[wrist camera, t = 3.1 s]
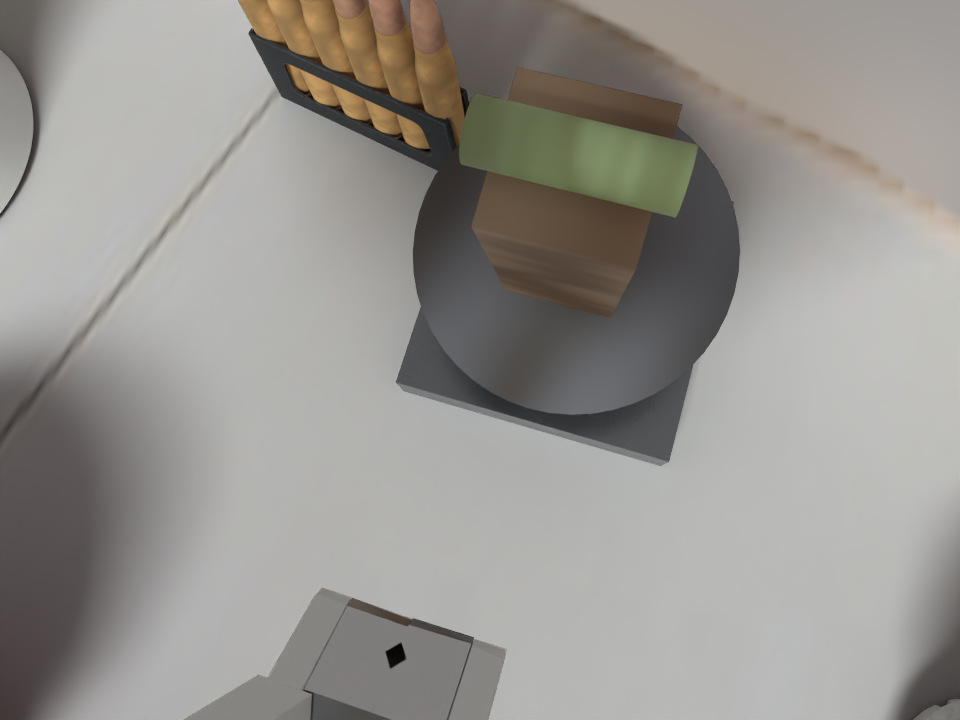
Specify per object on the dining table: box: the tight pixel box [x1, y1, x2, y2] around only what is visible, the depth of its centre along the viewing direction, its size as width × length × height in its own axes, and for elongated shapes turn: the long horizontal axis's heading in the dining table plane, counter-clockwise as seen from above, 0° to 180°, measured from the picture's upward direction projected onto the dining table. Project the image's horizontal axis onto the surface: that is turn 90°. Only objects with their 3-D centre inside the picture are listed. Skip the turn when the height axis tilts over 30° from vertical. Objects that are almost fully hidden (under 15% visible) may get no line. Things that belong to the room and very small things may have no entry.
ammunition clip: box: [238, 0, 469, 171], centre depth 31 cm, size 11×2×12 cm, turn 61°
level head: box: [413, 67, 740, 415], centre depth 22 cm, size 12×12×13 cm
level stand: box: [396, 201, 734, 466], centre depth 32 cm, size 12×12×5 cm
